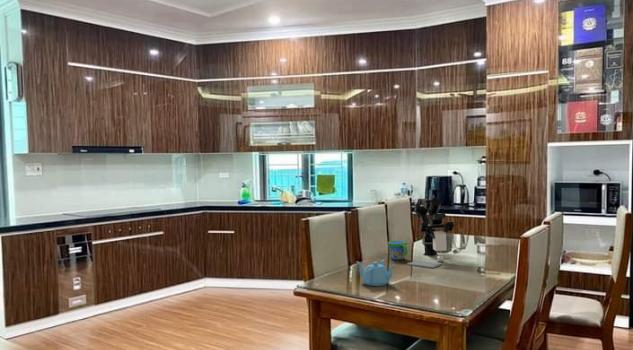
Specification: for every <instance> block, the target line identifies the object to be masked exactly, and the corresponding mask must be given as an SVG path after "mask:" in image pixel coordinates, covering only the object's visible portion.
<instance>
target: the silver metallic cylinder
mask: <svg viewBox="0 0 633 350" xmlns="http://www.w3.org/2000/svg"><path fill="white" fill-rule="evenodd" d="M438 262H442V263H444V256H443V255H436V263H438Z"/></svg>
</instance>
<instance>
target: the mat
mask: <svg viewBox="0 0 633 350" xmlns="http://www.w3.org/2000/svg"><path fill="white" fill-rule="evenodd" d="M406 265H407V266H411V267H412V266H413V267H419V268H425V269H426V268H428V269H435V268H438V267H441V266H443V264H442V263H438V262H431V261H425V260H413V261H410V262H406Z"/></svg>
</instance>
